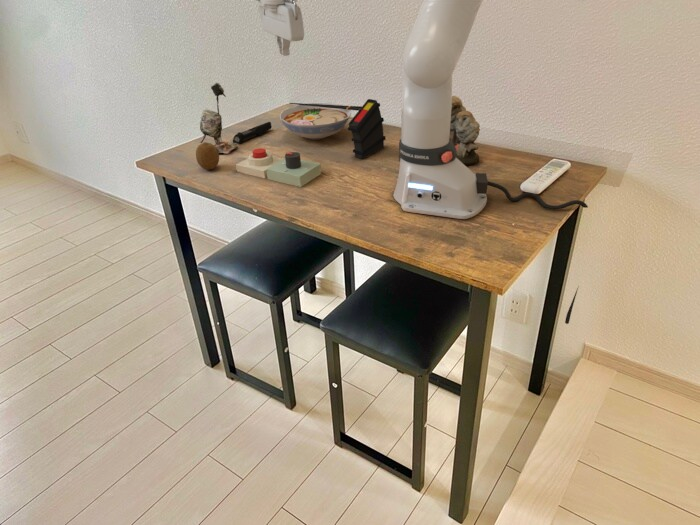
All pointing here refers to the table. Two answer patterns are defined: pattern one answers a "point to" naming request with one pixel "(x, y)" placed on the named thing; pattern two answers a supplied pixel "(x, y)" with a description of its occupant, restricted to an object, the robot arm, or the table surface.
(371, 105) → the magazine
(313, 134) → the ramen bowl
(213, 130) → the grey mottled tall figure
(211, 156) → the fruit
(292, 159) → the dial
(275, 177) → the dial panel
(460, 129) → the owl figurine
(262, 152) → the power button
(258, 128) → the electric trimmer
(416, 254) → the table surface
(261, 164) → the switch box
